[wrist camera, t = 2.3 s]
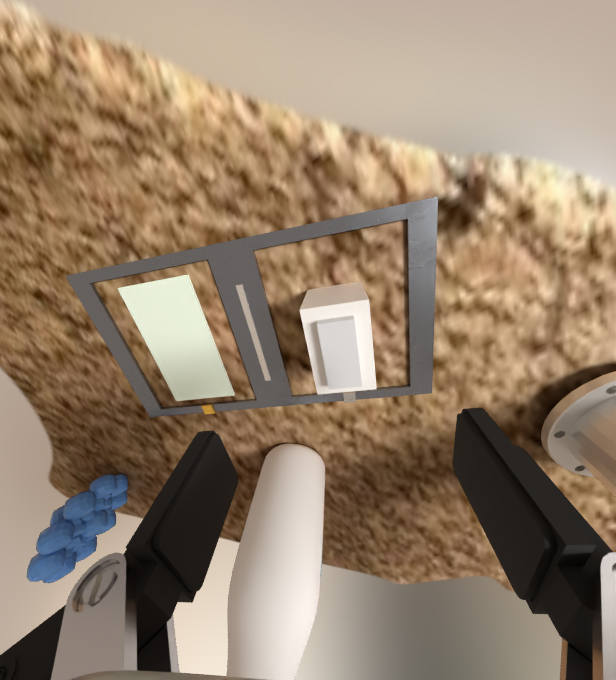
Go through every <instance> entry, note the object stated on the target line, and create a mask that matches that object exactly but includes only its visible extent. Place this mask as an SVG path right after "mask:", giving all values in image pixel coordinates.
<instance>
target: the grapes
mask: <svg viewBox="0 0 616 680" xmlns="http://www.w3.org/2000/svg"><path fill="white" fill-rule="evenodd" d="M127 489H128V479H127V477H126V475H123V474H119V475H112V474H107V475H103V476H101V477H99V478H97V479H96V480H94V481H93V482H91V483H90V487H89V491H85V492H81V493H79V494H77V495H75V496H73V497H72V498H70V499H69V500H67V501H66V503H65V505H64V506H62V507H60V508H58V509H57V510H55V511H54V512H53V514H52V517H51V522H50V527H48V528H46V529H45V530H44V531H42V532H41V533H40V535H39V538H38V541H37V546H36V550H37V552H38V554H37V555H36V556H34V557H33V558H32V559H31V561H30V564H29V566H28V570H27V578H28V579H29V581H40V580H42V581H43V582H44V583H52V582H55V581H57V580H59V579H61V578H62V577H64V576H65V575H67V574H68V573H70V572H71V571H73V570H74V568H75V564H76V562H79V561H81V560H83V559H85V558H86V557H88V556H89V555H91V554H92V553H93V552H95V551H96V546H97V537H96V535H99V534H101V533H104V532H106V531H108V530H109V529H111V528H112V527H114V526H115V524H116V513H115V511H114V510H115V509H117V508H119V507H121V506H122V505H124V504H125V503H127V491H126V490H127Z"/></svg>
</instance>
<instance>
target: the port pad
mask: <svg viewBox="0 0 616 680" xmlns="http://www.w3.org/2000/svg"><path fill="white" fill-rule="evenodd" d="M118 290H119V292H120V294H121V296H122V298H123V300H124V302H125V304H126V306H127V307H128V309H129V311H130V313H131V315H132V317H133V319H134V321H135V323H136V325H137V327H138V329H139V330H140V332H141V334H142V336H143V338H144V340H145V342H146V344H147V346H148V348H149V350H150V352H151V353H152V355H153V357H154V359H155V361H156V363H157V365H158V367H159V369H160V371H161V373H162V375H163V376H164V378H165V380H166V382H167V384H168V386H169V388H170V390H171V392H172V394H173V396H174V398H175V399H176V401H182V400H193V399H203V398H214V397H224V396H234V395H235V393H234V390H233V388H232V385H231V383H230V380H229V377H228V375H227V372H226V370H225V367H224V365H223V362H222V359H221V357H220V354H219V352H218V349H217V347H216V344H215V342H214V339H213V336H212V334H211V331H210V329H209V326H208V324H207V321H206V318H205V316H204V313H203V311H202V308H201V306H200V303H199V300H198V298H197V295H196V293H195V290H194V288H193V285H192V282H191V280H190V277H189V275H183V276H177V277H172V278H167V279H162V280H157V281H152V282H147V283H141V284H136V285H131V286H126V287H121V288H118Z"/></svg>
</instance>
